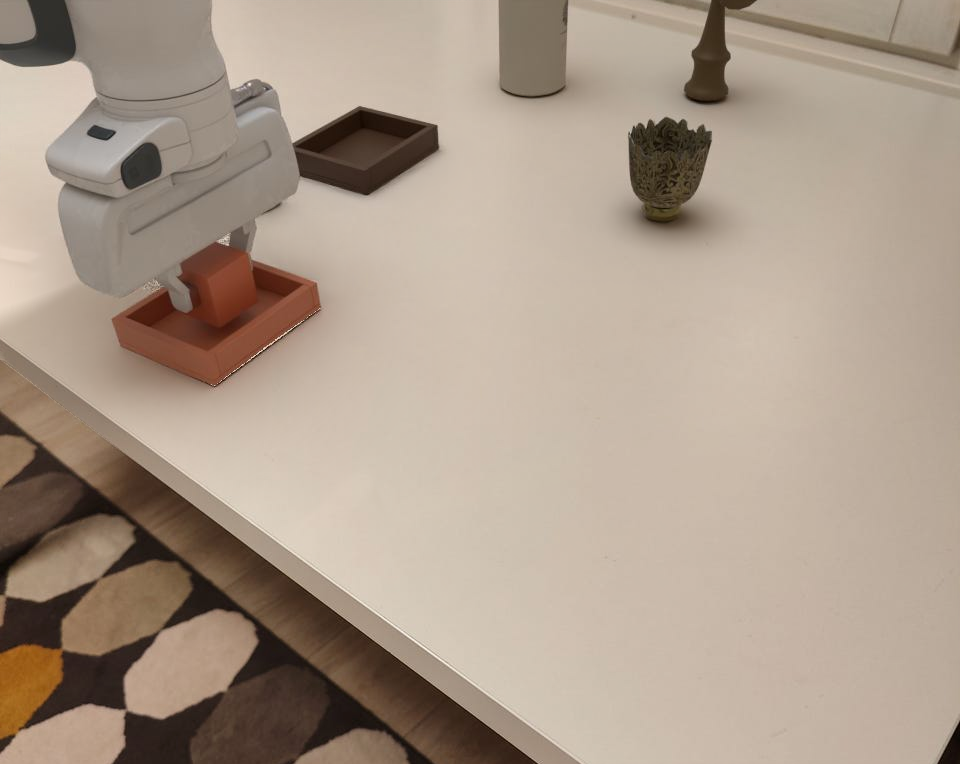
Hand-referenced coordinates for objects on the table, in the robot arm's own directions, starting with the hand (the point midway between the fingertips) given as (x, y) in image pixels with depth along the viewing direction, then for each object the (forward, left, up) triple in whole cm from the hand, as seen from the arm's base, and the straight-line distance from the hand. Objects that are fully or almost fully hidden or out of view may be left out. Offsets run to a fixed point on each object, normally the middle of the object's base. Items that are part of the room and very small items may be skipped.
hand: (214, 290), depth 76 cm
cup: (+41, -10, -4) cm, 42 cm away
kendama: (+66, +7, -4) cm, 66 cm away
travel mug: (+53, +23, -4) cm, 58 cm away
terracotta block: (0, 0, -2) cm, 2 cm away
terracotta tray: (0, 0, -4) cm, 4 cm away
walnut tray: (+26, +19, -4) cm, 32 cm away
